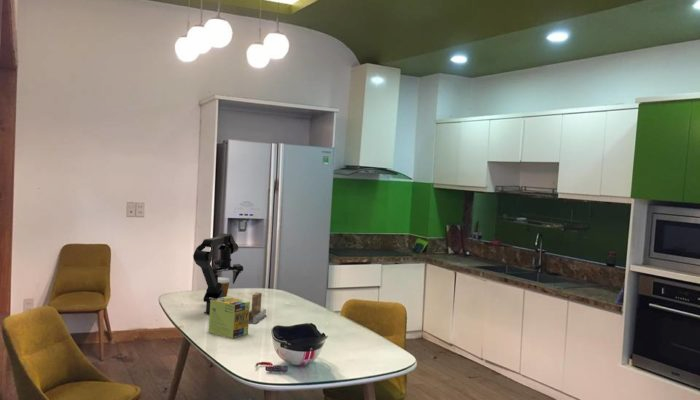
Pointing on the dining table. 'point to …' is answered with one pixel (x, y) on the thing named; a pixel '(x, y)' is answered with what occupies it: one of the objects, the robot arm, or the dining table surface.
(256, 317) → the door track
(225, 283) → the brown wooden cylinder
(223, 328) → the protein box
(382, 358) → the dining table surface
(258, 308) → the door panel
